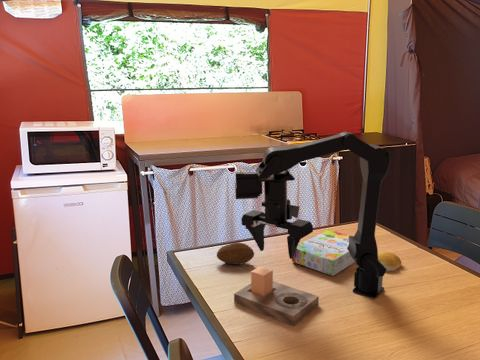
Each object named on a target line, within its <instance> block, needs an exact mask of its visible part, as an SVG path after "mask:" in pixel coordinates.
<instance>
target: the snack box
mask: <svg viewBox="0 0 480 360" xmlns="http://www.w3.org/2000/svg"><path fill="white" fill-rule="evenodd" d="M349 236H351V235H349V234H346V233H342V232H338V231H335V230H331V229H328V230H325V231H324V232H321V233H320V234H317V235H315V236H313V237H311V238H309V239H307V240H305V241H303V242H301V243H300V242H299V243H298V246H297V249H296V251H295V254H294V257H293V258H292V259H291V262H292V263H295V264H298V265H301V266H304V267H307V268H308V269H312V270H314V271H318V272H320V273H323V274H325V275H328V276H332V277H334V276H335V275H337V274H339V273H340V272H342V271H343V270H345V269H347V268H348V267H349V266H351V265H353V264H354V263H356V262H355V261H354V260H353V258H352V257H351V255H350V253H349V251H348V249H347V247H348V245H349Z"/></svg>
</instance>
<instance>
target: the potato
mask: <svg viewBox="0 0 480 360" xmlns="http://www.w3.org/2000/svg"><path fill="white" fill-rule="evenodd" d="M254 256H255V252H254V250H253V249H252V247H251V246H249V245H248V244H246V243H243V242H235V241H234V242H232V243H228V244H225V245H223V246H221V247H220V248H219V249H218V251H217V252H216V258H217V259H218V260H220V261H221V262H222V263H225V264H230V265H243V264H246V263H248V262H250V261H251V260H252V259H253V258H254Z"/></svg>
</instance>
